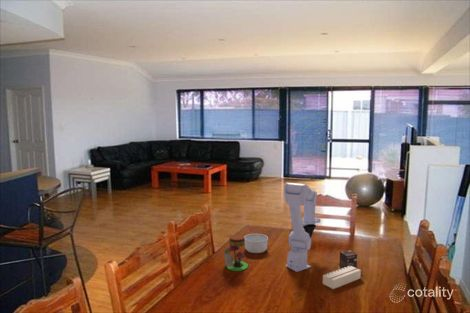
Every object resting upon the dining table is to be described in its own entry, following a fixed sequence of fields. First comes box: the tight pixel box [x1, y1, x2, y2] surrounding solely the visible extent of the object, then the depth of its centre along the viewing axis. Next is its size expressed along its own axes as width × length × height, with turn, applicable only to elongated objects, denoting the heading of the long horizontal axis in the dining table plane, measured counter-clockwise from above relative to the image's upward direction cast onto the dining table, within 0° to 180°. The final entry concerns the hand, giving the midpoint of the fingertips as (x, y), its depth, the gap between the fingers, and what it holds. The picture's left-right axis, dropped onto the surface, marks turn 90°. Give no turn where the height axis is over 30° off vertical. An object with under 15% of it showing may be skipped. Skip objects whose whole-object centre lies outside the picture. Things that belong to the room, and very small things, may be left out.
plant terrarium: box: [224, 234, 249, 272], centre depth 186 cm, size 12×13×15 cm
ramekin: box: [244, 233, 269, 254], centre depth 208 cm, size 13×13×7 cm
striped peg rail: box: [322, 266, 362, 290], centre depth 170 cm, size 18×6×4 cm, turn 124°
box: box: [338, 250, 358, 269], centre depth 184 cm, size 6×6×7 cm
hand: (308, 237), depth 199 cm, fingers closed
